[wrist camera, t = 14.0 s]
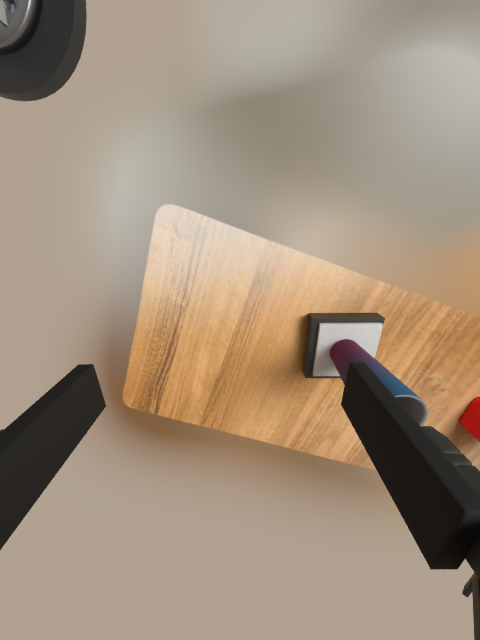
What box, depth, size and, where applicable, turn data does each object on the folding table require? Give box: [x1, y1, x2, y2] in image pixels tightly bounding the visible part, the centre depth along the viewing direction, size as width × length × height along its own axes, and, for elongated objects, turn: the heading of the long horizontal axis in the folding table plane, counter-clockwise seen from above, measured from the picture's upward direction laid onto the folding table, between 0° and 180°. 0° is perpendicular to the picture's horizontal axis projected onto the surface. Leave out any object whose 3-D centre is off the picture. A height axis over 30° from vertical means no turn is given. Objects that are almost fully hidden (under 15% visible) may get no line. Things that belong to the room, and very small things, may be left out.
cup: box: [330, 339, 428, 426], centre depth 34 cm, size 7×7×15 cm
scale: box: [303, 313, 385, 378], centre depth 42 cm, size 12×12×3 cm
